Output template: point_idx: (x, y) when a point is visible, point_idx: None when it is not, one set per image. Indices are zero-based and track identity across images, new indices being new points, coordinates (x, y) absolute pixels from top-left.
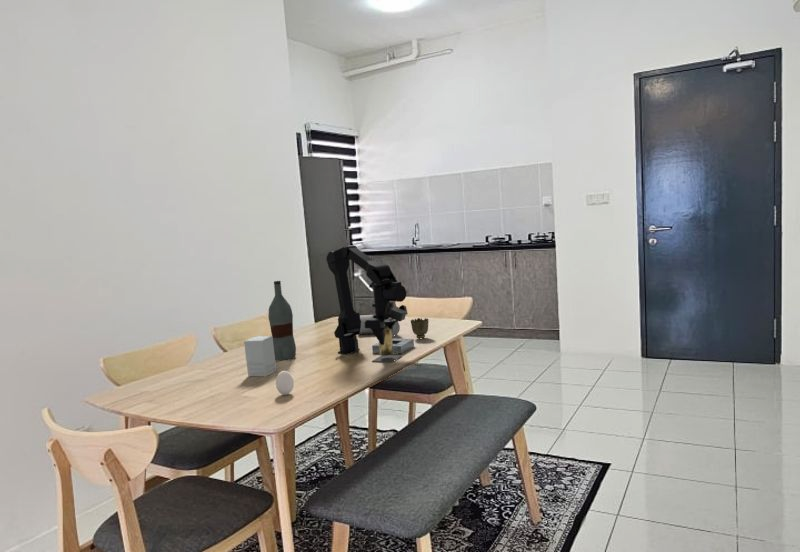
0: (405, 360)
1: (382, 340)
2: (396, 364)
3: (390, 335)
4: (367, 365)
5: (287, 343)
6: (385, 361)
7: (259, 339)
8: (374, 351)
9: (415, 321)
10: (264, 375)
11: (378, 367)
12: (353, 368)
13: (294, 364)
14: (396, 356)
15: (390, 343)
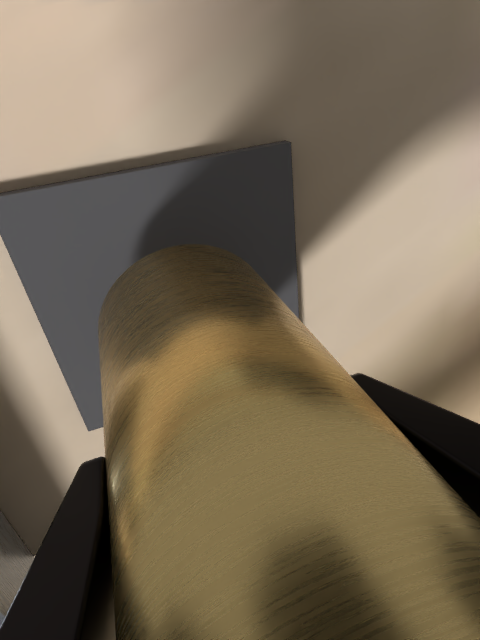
0: (120, 6)
1: (434, 415)
2: (337, 30)
3: (320, 443)
4: (395, 318)
5: None
6: (293, 231)
7: None
8: (25, 562)
9: None
10: None
11: (452, 178)
12: (469, 350)
13: None
14: (49, 252)
15: (256, 323)
